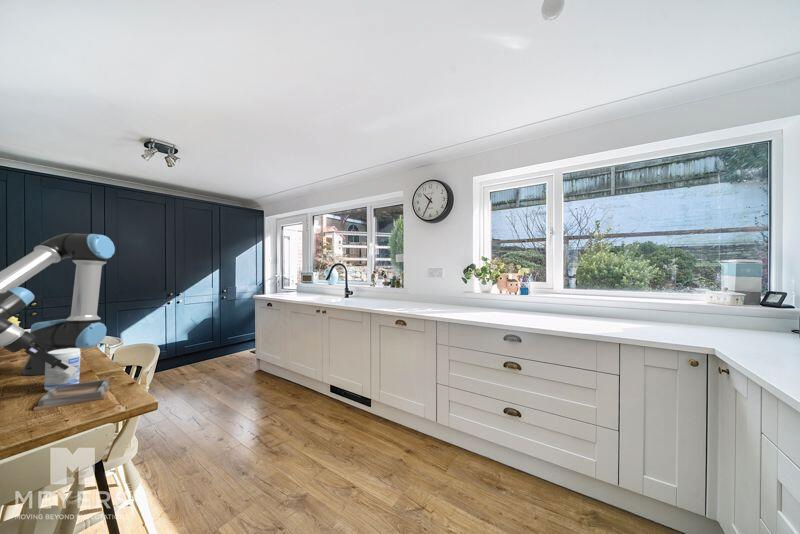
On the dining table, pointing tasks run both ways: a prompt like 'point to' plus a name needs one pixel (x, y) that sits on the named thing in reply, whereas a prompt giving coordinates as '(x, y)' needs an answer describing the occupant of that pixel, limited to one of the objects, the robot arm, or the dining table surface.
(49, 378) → the supplement tub
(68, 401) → the dock
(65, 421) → the dining table surface
